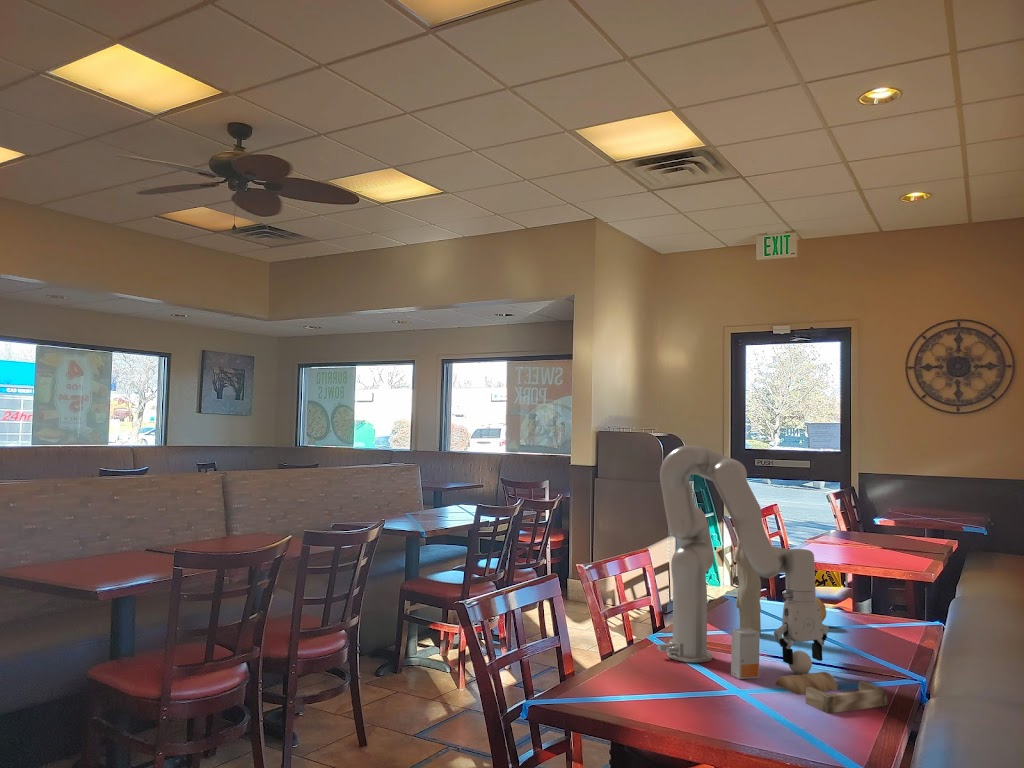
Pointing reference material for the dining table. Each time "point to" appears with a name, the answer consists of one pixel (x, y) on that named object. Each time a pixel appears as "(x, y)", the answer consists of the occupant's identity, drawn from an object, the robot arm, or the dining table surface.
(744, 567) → the vase
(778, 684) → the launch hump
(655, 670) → the dining table surface
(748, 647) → the skincare box
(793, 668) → the ball
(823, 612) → the stress ball
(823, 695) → the rail
